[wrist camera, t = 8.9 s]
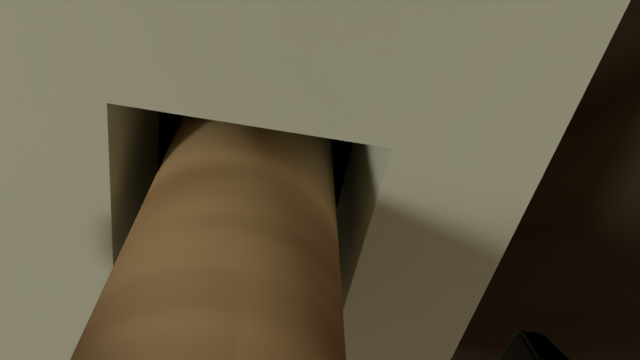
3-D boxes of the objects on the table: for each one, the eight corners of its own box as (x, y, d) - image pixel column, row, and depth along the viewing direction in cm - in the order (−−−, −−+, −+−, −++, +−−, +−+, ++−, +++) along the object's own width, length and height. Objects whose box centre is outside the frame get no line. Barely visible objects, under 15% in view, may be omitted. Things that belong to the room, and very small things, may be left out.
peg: (316, 212, 14) (322, 567, 7) (178, 192, 13) (42, 550, 7) (345, 86, 12) (389, 411, 5) (184, 58, 11) (1, 371, 5)
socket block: (396, 322, 16) (415, 430, 13) (59, 281, 15) (-2, 390, 12) (544, -60, 10) (640, -20, 7) (6, -175, 9) (-142, -183, 6)
